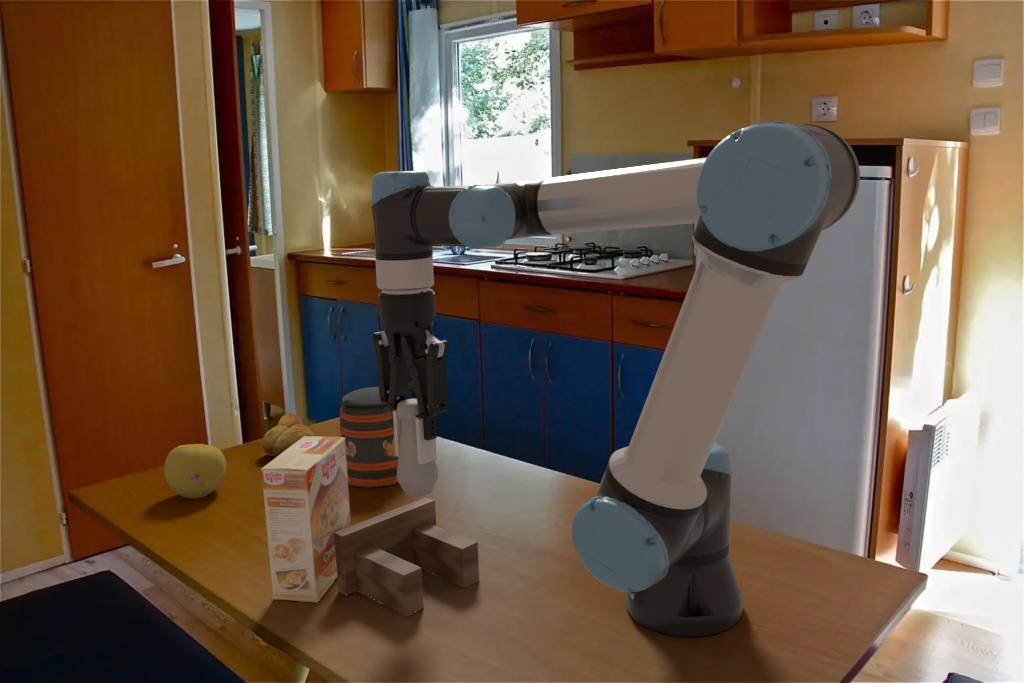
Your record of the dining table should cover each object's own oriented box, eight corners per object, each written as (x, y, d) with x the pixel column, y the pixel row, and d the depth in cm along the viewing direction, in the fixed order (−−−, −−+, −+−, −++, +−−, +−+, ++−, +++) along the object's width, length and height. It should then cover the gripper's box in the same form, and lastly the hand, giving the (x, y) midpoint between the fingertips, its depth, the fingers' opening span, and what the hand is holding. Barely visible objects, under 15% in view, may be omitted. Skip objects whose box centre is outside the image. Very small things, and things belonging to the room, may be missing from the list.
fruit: (235, 495, 164) (230, 444, 162) (175, 509, 158) (169, 456, 156) (219, 480, 173) (214, 431, 171) (161, 493, 167) (155, 442, 165)
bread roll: (328, 457, 184) (325, 420, 183) (287, 469, 178) (284, 431, 176) (296, 444, 193) (293, 409, 192) (255, 456, 187) (252, 419, 185)
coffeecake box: (318, 603, 123) (307, 469, 119) (270, 600, 124) (257, 468, 120) (356, 556, 137) (346, 435, 133) (312, 554, 138) (302, 434, 134)
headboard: (487, 576, 129) (485, 518, 127) (396, 622, 117) (392, 558, 115) (429, 551, 138) (426, 497, 136) (338, 591, 126) (333, 532, 124)
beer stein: (393, 452, 186) (387, 359, 182) (445, 464, 177) (440, 367, 173) (323, 479, 171) (315, 378, 167) (376, 494, 162) (369, 389, 158)
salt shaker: (422, 481, 127) (415, 393, 124) (448, 489, 123) (442, 399, 120) (389, 492, 123) (382, 401, 120) (415, 502, 119) (408, 408, 116)
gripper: (471, 291, 114) (478, 463, 119) (388, 281, 126) (397, 438, 130) (427, 298, 109) (436, 479, 113) (344, 288, 120) (356, 451, 125)
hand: (415, 457), depth 122 cm, fingers closed on salt shaker, 4 cm apart
